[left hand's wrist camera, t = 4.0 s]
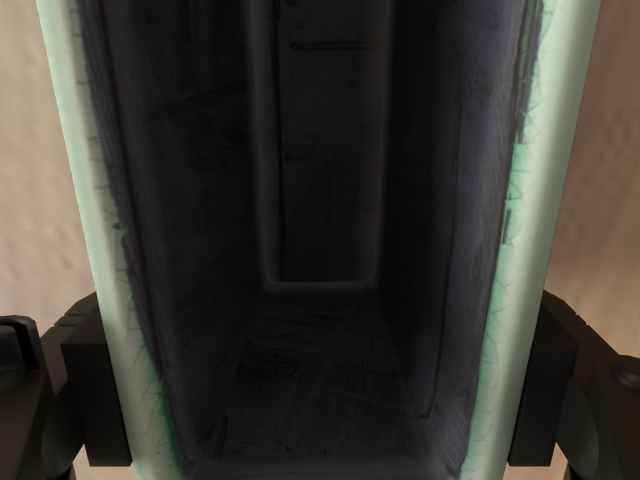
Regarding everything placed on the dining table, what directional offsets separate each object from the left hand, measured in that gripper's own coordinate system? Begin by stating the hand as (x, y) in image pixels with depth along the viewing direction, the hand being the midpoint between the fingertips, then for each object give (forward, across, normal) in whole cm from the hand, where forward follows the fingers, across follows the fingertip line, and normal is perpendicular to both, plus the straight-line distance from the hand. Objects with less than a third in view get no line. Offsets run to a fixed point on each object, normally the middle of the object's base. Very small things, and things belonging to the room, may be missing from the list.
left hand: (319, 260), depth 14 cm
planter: (+1, 0, -11) cm, 11 cm away
